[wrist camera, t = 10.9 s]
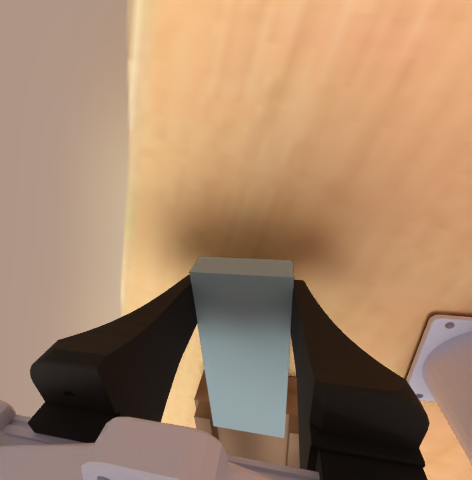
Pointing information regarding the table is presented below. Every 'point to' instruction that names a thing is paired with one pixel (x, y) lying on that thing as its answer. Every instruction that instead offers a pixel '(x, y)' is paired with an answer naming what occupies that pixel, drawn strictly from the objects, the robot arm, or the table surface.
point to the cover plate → (245, 339)
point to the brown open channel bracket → (253, 443)
